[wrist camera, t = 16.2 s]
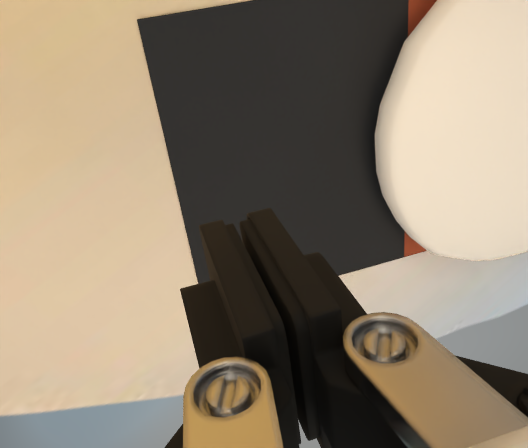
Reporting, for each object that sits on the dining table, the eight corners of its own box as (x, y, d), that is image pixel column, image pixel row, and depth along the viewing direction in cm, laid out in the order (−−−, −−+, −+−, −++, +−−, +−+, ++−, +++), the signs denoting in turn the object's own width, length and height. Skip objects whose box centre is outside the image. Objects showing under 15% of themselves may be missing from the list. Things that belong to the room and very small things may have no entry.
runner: (137, 19, 33) (137, 19, 33) (630, -63, 41) (631, -63, 41) (205, 312, 45) (205, 313, 45) (574, 208, 53) (575, 208, 53)
